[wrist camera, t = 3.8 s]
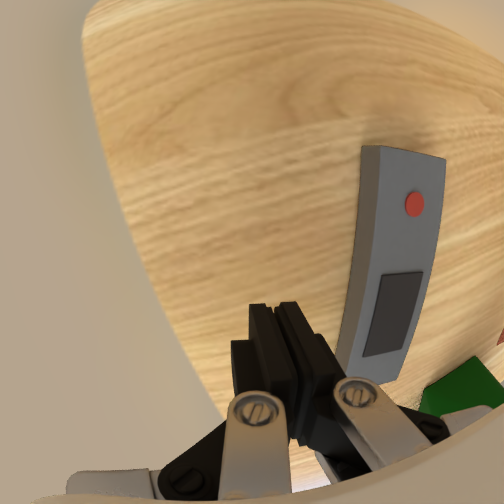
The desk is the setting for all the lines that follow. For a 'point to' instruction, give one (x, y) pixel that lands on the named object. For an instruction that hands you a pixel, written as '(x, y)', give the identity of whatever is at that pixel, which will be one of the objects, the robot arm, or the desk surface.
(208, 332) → the desk surface
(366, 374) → the remote
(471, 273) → the desk surface
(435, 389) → the milk carton
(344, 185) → the desk surface
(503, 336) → the mat
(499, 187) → the desk surface
